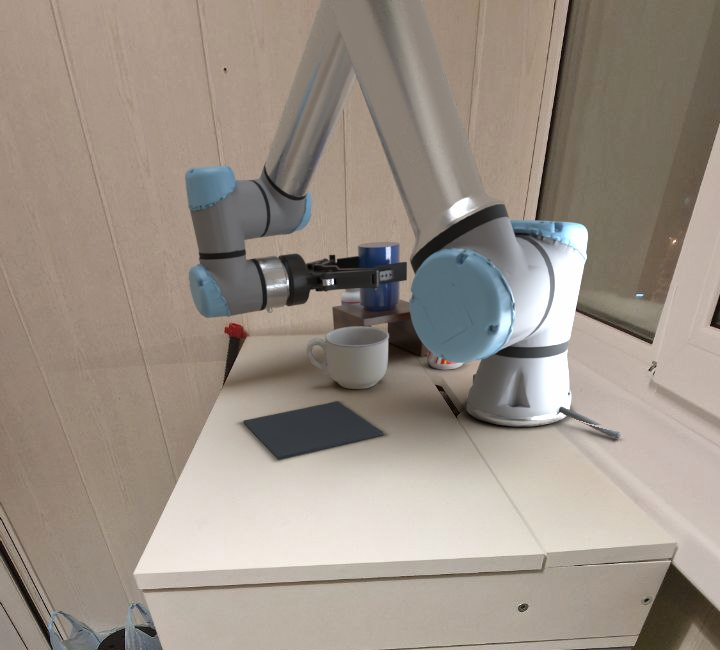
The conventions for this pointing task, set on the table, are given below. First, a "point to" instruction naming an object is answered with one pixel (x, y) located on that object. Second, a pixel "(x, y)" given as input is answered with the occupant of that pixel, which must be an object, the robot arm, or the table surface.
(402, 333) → the shelf
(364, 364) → the teacup
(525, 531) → the table surface
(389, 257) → the blue cylinder
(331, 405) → the mat
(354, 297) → the pill bottle
